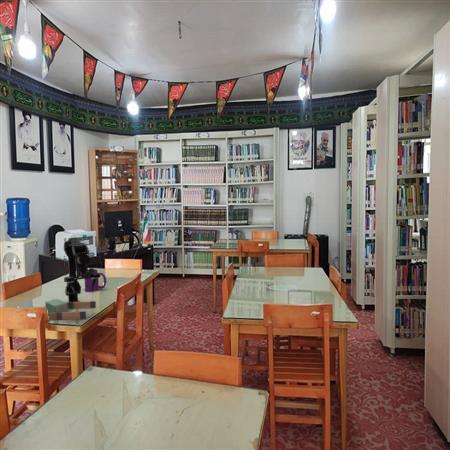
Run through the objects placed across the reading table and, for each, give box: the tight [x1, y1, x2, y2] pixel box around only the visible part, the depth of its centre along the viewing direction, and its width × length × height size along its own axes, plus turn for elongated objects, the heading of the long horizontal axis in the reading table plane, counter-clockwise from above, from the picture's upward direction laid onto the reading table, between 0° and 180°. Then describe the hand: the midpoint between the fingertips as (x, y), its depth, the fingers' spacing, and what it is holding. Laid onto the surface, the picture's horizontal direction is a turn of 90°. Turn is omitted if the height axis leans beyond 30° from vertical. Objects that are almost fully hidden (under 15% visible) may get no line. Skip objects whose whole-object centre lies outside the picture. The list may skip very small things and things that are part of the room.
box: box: [44, 298, 69, 313], centre depth 209 cm, size 7×14×8 cm, turn 50°
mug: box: [84, 268, 107, 293], centre depth 259 cm, size 9×16×15 cm, turn 90°
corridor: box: [48, 300, 97, 321], centre depth 210 cm, size 20×24×4 cm
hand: (83, 292), depth 201 cm, fingers open, 9 cm apart
